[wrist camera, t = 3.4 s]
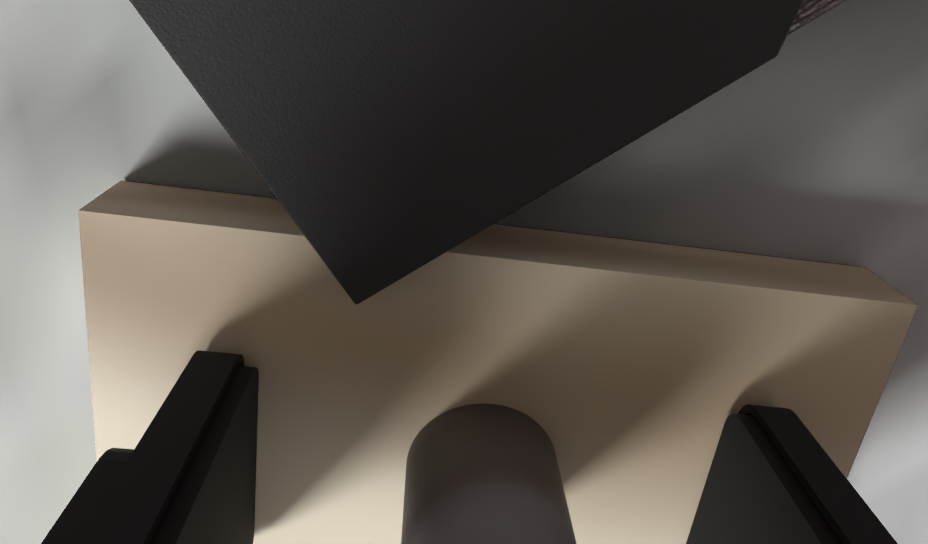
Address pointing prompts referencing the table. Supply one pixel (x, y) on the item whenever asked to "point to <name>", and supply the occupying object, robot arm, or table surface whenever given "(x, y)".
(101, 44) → the table surface
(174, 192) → the board
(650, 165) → the table surface
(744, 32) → the picture frame
